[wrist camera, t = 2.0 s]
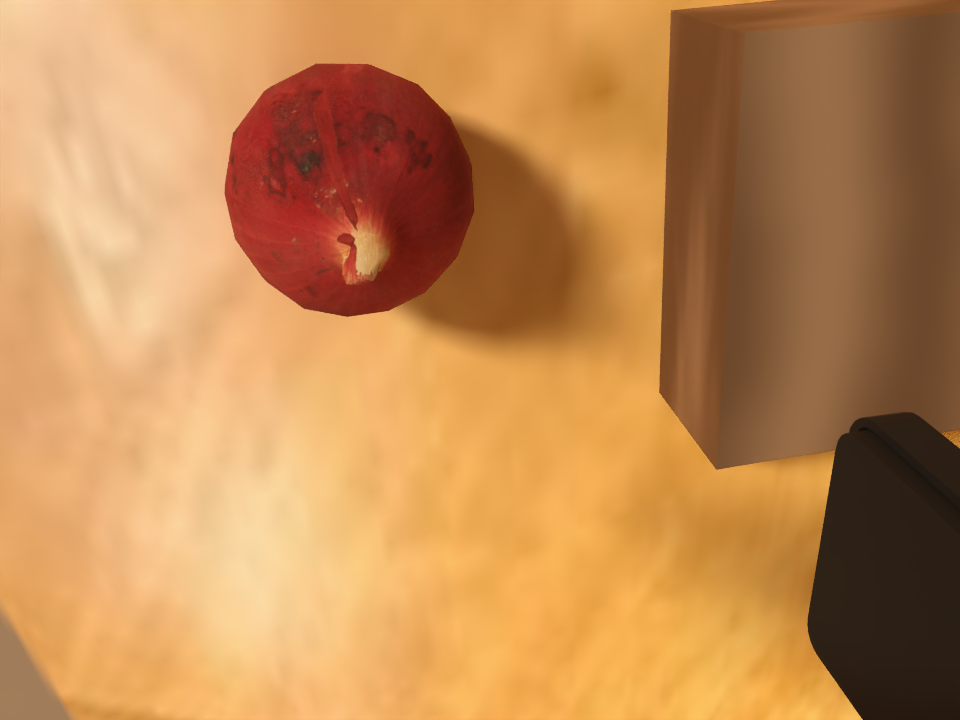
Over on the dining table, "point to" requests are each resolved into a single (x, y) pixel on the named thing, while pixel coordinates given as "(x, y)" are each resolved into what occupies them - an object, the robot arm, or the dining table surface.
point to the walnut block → (811, 222)
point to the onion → (349, 189)
